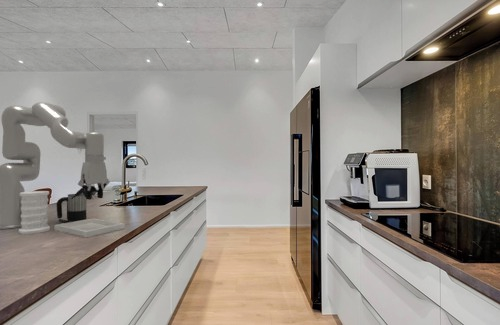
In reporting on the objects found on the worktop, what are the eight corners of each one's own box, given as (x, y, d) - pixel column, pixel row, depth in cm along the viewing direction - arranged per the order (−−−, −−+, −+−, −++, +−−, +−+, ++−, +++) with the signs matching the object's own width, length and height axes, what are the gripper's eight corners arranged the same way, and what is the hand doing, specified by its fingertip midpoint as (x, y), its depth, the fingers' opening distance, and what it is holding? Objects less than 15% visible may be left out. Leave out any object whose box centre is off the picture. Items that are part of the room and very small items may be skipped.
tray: (54, 230, 130) (54, 225, 130) (92, 223, 146) (92, 218, 146) (86, 237, 117) (86, 231, 117) (124, 228, 133) (124, 223, 133)
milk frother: (85, 219, 156) (85, 192, 156) (92, 223, 145) (92, 195, 145) (54, 223, 147) (54, 194, 147) (59, 228, 135) (59, 197, 135)
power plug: (74, 196, 134) (94, 182, 134) (83, 209, 134) (103, 194, 133) (66, 197, 129) (86, 182, 128) (75, 211, 128) (96, 196, 128)
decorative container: (47, 226, 138) (47, 190, 138) (52, 230, 129) (52, 192, 129) (17, 231, 129) (17, 192, 129) (20, 235, 121) (20, 194, 121)
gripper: (106, 159, 139) (106, 196, 139) (70, 159, 124) (70, 200, 124) (116, 159, 135) (116, 197, 135) (80, 159, 120) (80, 201, 120)
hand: (94, 198), depth 129 cm, fingers closed on power plug, 4 cm apart
